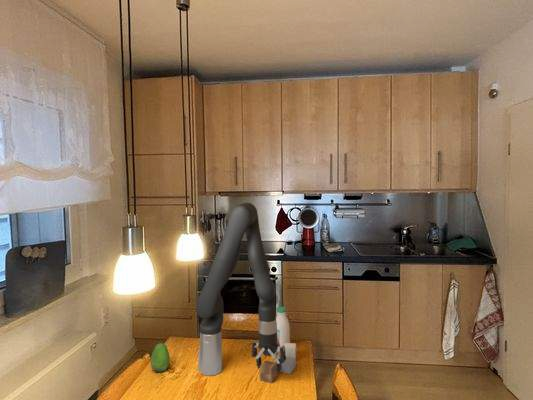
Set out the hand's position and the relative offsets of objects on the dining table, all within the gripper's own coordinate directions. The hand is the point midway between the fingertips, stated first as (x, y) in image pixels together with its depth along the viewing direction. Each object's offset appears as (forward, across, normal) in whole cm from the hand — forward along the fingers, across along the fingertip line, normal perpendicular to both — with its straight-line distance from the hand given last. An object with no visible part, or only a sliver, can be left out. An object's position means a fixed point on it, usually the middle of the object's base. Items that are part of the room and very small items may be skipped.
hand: (269, 369), depth 141 cm
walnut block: (+4, -1, 0) cm, 4 cm away
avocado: (+3, -46, -13) cm, 48 cm away
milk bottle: (+4, -6, +26) cm, 27 cm away
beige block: (+4, +1, +19) cm, 20 cm away
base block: (+4, +2, +11) cm, 12 cm away
